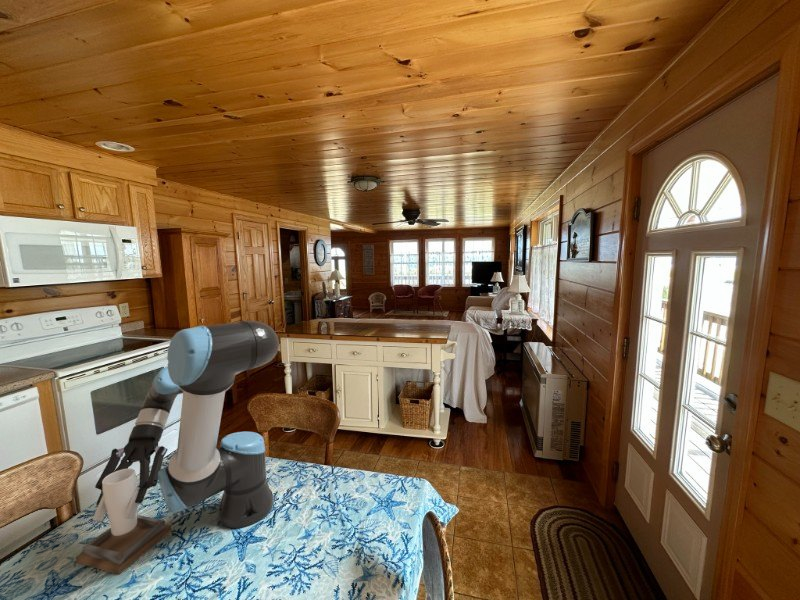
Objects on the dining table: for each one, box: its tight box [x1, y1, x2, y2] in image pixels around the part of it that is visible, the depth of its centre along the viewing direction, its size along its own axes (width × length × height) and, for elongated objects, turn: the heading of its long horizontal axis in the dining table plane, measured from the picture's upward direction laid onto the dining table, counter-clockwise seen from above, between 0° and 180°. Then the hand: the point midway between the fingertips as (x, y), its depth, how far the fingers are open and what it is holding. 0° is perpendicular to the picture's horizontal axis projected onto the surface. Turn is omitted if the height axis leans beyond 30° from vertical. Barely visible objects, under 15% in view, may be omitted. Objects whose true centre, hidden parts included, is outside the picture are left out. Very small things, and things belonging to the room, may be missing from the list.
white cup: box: [102, 468, 138, 536], centre depth 87 cm, size 7×7×15 cm
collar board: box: [75, 514, 173, 575], centre depth 88 cm, size 14×14×4 cm
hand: (113, 519), depth 84 cm, fingers closed on white cup, 7 cm apart
